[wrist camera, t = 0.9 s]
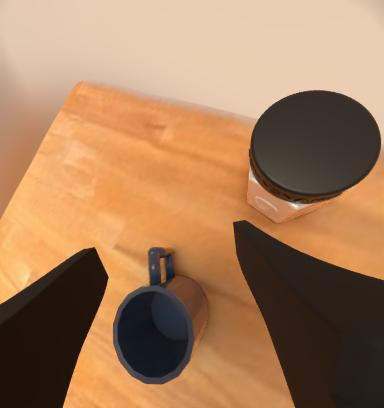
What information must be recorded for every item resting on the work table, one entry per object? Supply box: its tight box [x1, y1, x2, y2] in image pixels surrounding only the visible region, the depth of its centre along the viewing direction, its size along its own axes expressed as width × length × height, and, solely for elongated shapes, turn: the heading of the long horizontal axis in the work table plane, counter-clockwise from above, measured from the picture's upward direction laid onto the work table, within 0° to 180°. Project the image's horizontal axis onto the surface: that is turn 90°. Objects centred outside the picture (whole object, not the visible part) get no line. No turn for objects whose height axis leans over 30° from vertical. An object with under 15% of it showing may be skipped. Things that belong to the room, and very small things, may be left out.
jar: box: [247, 90, 381, 224], centre depth 19 cm, size 9×8×12 cm
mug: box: [113, 247, 209, 384], centre depth 22 cm, size 11×8×8 cm
